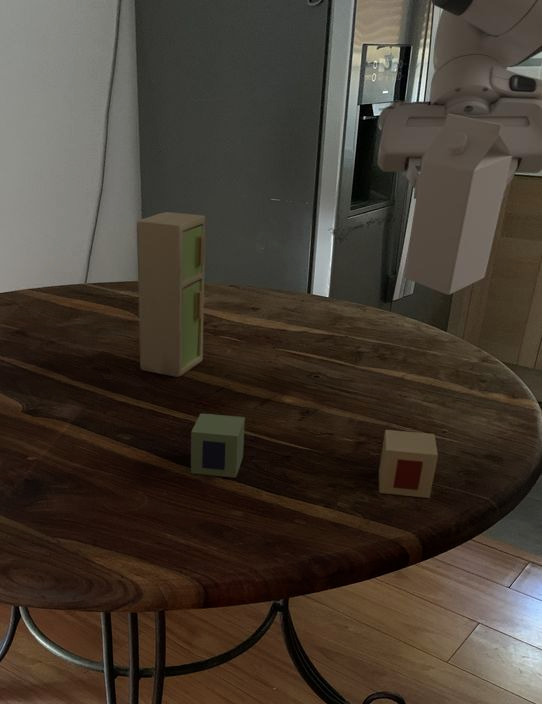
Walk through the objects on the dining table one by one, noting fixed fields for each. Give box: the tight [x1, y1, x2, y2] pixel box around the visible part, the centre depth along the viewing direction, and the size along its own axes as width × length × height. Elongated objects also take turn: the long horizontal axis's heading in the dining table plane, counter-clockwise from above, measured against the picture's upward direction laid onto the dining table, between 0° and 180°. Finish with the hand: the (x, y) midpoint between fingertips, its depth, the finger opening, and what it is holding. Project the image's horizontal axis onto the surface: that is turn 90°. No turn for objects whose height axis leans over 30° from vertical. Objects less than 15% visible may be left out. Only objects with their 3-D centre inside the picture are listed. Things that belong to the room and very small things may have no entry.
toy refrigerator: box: [136, 211, 207, 378], centre depth 104 cm, size 8×7×21 cm
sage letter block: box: [190, 413, 246, 479], centre depth 81 cm, size 5×5×5 cm
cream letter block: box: [378, 429, 439, 499], centre depth 76 cm, size 5×5×5 cm
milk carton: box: [404, 114, 512, 296], centre depth 89 cm, size 7×7×19 cm
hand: (459, 196), depth 90 cm, fingers closed on milk carton, 7 cm apart
